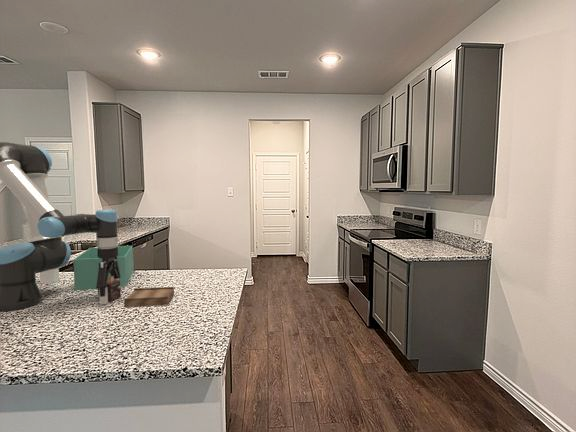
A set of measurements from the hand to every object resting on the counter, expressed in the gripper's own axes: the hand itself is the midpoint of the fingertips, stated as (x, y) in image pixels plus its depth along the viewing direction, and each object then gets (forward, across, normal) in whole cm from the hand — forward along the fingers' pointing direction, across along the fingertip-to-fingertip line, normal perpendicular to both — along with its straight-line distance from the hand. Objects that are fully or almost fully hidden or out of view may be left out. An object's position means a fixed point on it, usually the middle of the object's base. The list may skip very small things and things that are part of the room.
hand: (109, 298), depth 135 cm
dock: (0, -4, -17) cm, 17 cm away
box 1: (+1, +32, +12) cm, 34 cm away
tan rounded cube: (-7, 0, 0) cm, 7 cm away
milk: (0, +32, +38) cm, 50 cm away
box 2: (0, 0, 0) cm, 0 cm away
